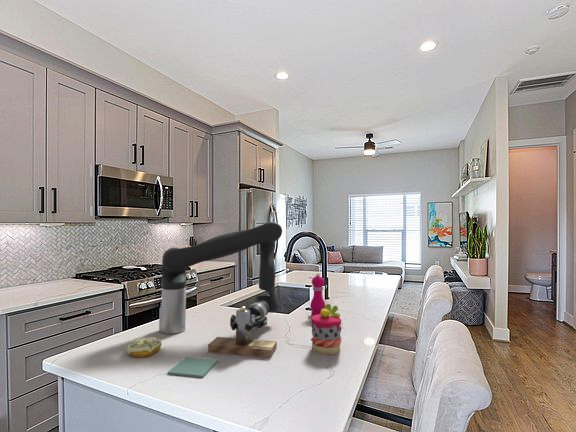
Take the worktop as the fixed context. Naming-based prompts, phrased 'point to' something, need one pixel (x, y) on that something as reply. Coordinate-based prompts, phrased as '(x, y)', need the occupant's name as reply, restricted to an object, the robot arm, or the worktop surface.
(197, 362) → the felt mat
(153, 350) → the decorated donut
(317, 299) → the pepper mill
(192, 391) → the worktop surface
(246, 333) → the cylinder with brass knob
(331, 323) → the cake
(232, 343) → the plane body
